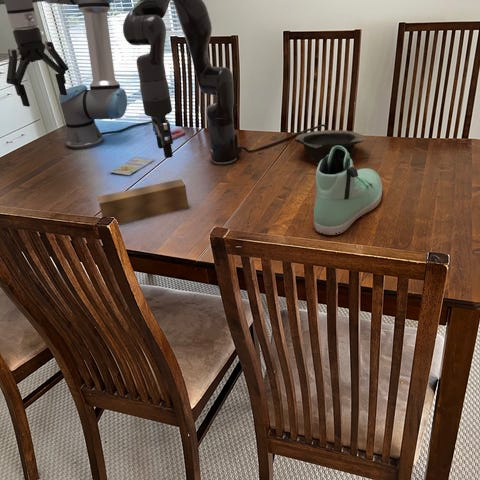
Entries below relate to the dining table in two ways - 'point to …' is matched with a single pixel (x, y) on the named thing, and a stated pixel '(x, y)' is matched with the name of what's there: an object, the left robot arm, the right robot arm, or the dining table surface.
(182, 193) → the bar
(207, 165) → the dining table surface
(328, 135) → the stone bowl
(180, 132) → the candy cane
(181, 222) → the dining table surface
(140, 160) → the baking ingredient package
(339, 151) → the sneaker
